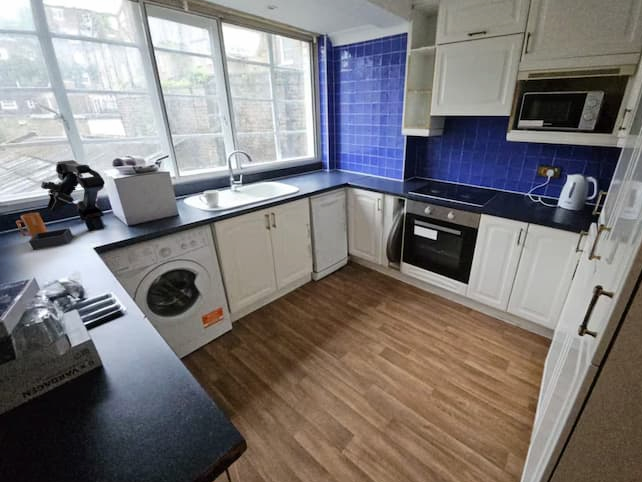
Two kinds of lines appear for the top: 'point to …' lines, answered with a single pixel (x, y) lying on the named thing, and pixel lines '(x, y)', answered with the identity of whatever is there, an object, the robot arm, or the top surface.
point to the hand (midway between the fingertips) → (50, 209)
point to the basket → (50, 238)
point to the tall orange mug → (32, 224)
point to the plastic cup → (81, 200)
